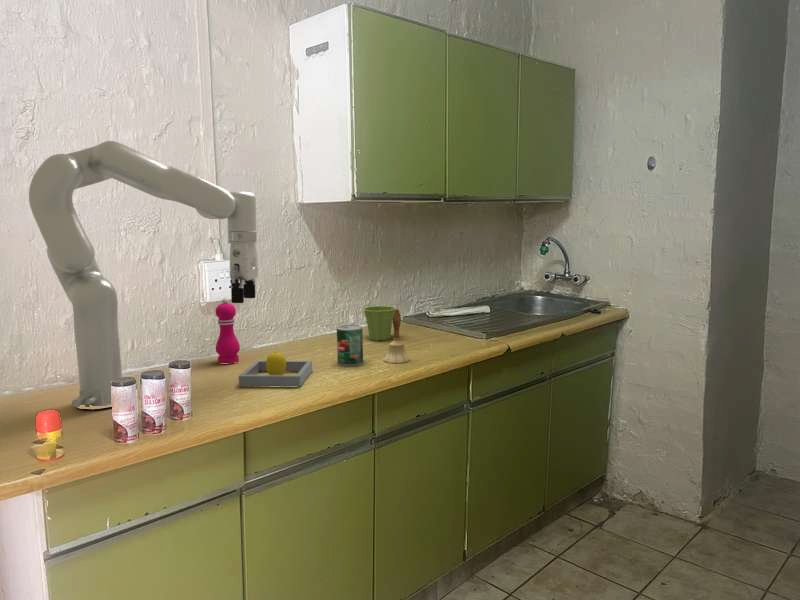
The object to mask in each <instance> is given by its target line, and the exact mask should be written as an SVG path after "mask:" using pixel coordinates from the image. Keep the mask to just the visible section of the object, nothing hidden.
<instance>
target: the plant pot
mask: <svg viewBox="0 0 800 600" xmlns="http://www.w3.org/2000/svg"><path fill="white" fill-rule="evenodd" d="M395 309H397V308H396V307H395V306H391V305H372V306H365V307H363V308H362V311H363V313H364V317H365V320H366V325H367V331H368V337H369V339H370V340H371V341H375V342H378V341H384V340H385V341H388V340H390V338H391V333H392V327H393V314H394V311H395Z"/></svg>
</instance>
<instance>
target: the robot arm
mask: <svg viewBox="0 0 800 600" xmlns="http://www.w3.org/2000/svg"><path fill="white" fill-rule="evenodd" d="M111 179H114V180H116V181H118V182H120V183H123V184H125V185H127V186H130V187H131V188H134V189H137V190H138V191H141V192H143V193H145V194H148V195H150V196H153V197H154V198H158V199H160V200H161V199H162V200H166V201H173V202H176V203H180V204H183V205H186V206H188V207H190V208H194V209H195V210H196V212H197V213H198V214H199V215H200V216H201V217H203V218H205V219H209V220H226V219H227V244H229V245H230V247H229V248H230V249H229V277H230V280H229V281H230V292H231V294H230V296H231V303H232V304H244V303H245V299H256V279H257V277H258V276H259V269H258V268H259V267H258V265H259V264H258V255H257V254H258V253H257V247H256V244H257V243H258V240H257V239H258V238H257V234H258V233H257V197H256V195H255V194H254V193H253V192H249V191H230V192H229V191H228V190H226V189H225V188H223V187H220V186H218V185H216V184H214V183H211V182H209V181H207V180H205V179H203V178H201V177H198V176H196V175H194V174H191V173H187V172H185V171H183V170H180V169H179V168H177V167H173V166H170V165H168V164H166V163H163V162H162V161H160V160H157V159H155V158H153V157H151V156H149V155H146V154H144V153H142V152H140V151H139V150H136V149H134V148H132V147H130V146H127V145H125V144H123V143H120V142H118V141H114V140H106V141H103V142H101V143H99V144H96V145H94V146H91V147H88V148H84V149H81V150H77V151H74V152H70V153H55V154H53V155H50V156H49V157H47V158H45V160H44V161H43V162H42V163H41V165H40V166H39V167H38V169H37V170H36V171H35V173H34V175H32V178H31V181H30V185H29V188H28V189H29V190H28V202H29V206H30V209H31V210H30V211H31V212H32V216H33V217H34V220H35V223H36V224H37V227H38V230H39V232H40V234H41V236H42V238H43V240H44V242H45V244H46V247H47V249H46V254H47V258H48V260H49V263H50V265H51V267H52V268H53V271H54V273H55V275H56V277H57V279H58V281H59V283H60V285H61V287H62V288H63V290H64V293H65V295H66V297H67V298H68V300H69V302H70V303H71V304H72V312H73V314H72V315H73V328H74V330H73V331H74V332H73V333H74V342H75V349H76V350H75V351H76V361H77V371H78V380H79V389H80V390H79V393H78V394H79V396H78V397H76V398H74V399H73V400H72V401H71V405H72V407H74V408H75V407H79V406H80V405H85V407H90V406H89V405H92V406H107V405H111V381H112V380H114V379H117V378H122V379H123V369H122V358H121V357H122V356H121V347H120V337H119V326H118V325H119V322H118V321H119V319H118V318H119V316H118V314H119V313H118V308H119V307H118V305H119V303H118V294H117V291H116V288H115V286H114V285H113V284H112V282H111V281H110V280H108V279H107V278H106V277H104V275H103V274H102V271H101V269H100V266H99V264H98V263H97V261H96V258H95V257H96V252H95V248H94V246H93V243H92V242H91V241H90V239H89V237H88V235H87V233H86V231H85V230H84V227H83V225H82V223H81V220H80V218H79V216H78V214H77V211H76V210H75V207H74V202H73V196H74V195H73V194H74V192H75V190H77V189H81V188H84V187H88V186H92V185H95V184H99V183H101V182H104V181H107V180H111Z"/></svg>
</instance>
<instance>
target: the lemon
mask: <svg viewBox="0 0 800 600" xmlns="http://www.w3.org/2000/svg"><path fill="white" fill-rule="evenodd" d="M265 361H266V369H267V372H266V373H267V375H285V373H286V372H285V370H286V361H287V360H286V357H285V356H284V355H283V353H281V352H279V351H277V350H274V351H273V352H271V353H270V354H269V355H268V356H267V357H266V360H265Z"/></svg>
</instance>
